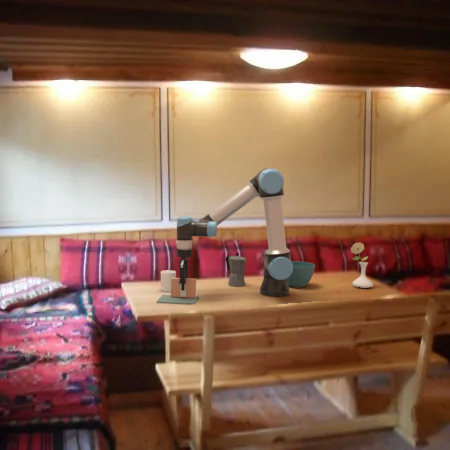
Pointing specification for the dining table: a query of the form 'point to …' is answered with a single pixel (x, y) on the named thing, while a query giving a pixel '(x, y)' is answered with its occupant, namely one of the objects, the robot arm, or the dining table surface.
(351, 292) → the dining table surface
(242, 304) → the dining table surface
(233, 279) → the coffeepot
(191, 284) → the plaque
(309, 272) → the teal bowl
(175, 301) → the mat
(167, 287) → the white cup
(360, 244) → the flower in vase
